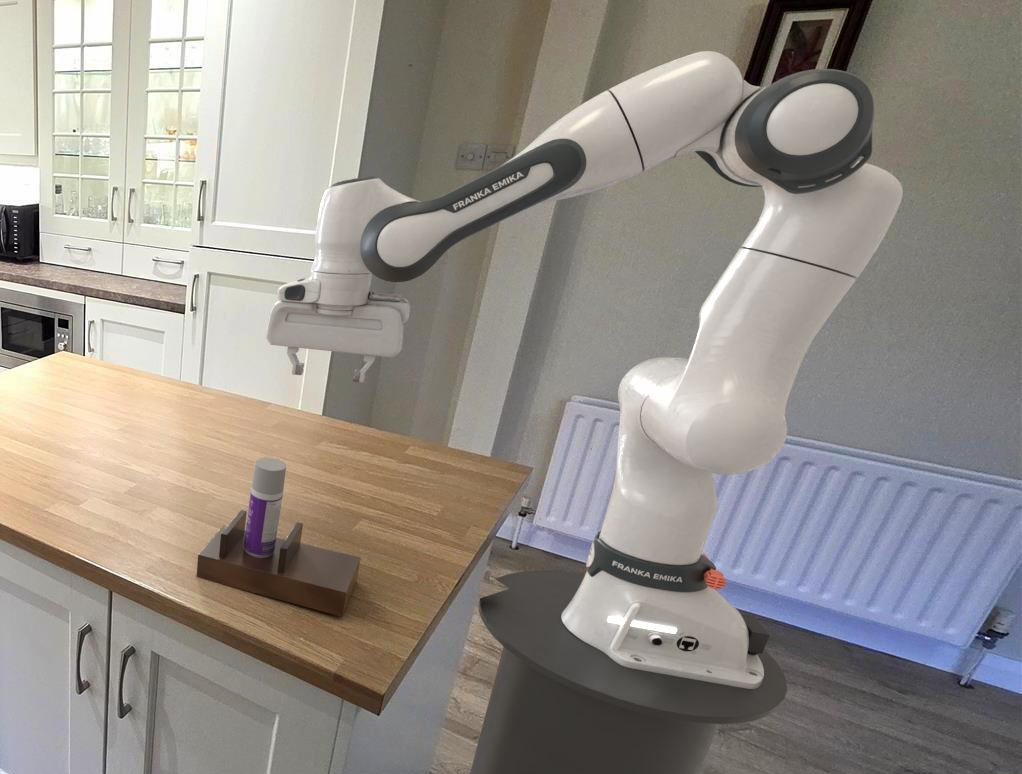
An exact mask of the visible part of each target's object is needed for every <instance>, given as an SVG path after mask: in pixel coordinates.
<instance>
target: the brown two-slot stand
mask: <svg viewBox="0 0 1022 774" xmlns="http://www.w3.org/2000/svg"><path fill="white" fill-rule="evenodd" d="M247 515H248V511H247V510H244V509H240V510H239V512H237V513H236V515H235V516H234V517H233V518H232V520H231V521H230V522H229V523H228V525H224V524H223V525H222V526H221V527H220V528H219V529H218V530H217V532H216V533H215V534H214V535H213V536H212V538H211V539H210V540H209V541H208V542H207V543H206V544H205V546H204V547H203V548H202V550H201V551H200V552H199V553H198V555H197V564H196V565H197V566H196V575H195V577H196V578H199V579H203V580H205V581H209V582H212V583H217V584H221V585H223V586H228V587H232V588H236V589H238V590H241V591H247V592H250V593H253V594H256V595H257V594H258V595H260V596H265V597H268V598H272V599H275V600H280V601H283V602H286V603H291V604H294V605H297V606H302V607H305V608H309V609H313V610H316V611H320V612H323V613H327V614H331V615H334V616H338V617H343V615H344V613H345V611H346V608H347V607H348V603H349V601H350V598H351V596H352V593H353V590H354V588H355V586H356V583H357V581H358V577H359V571H360V566H361V565H360V564H361V559H362V557H361V556H358V555H357V556H356V555H352V554H348V553H345V552H339V551H336V550H331V549H327V548H322V547H320V546H319V547H318V546H314V545H310V544H306V543H302V542H301V541H302V535H303V527H304V523H303V522H299V521H297V522H296V523H295V524H294V526H293V527H292V529H291V530H290V532H289V533H288V535H287V537H286V538H280V537H276V543H275V549H274V554H273V555H272V556H270V557H267V558H258V557H254V556H251V555H249V554H247V553H246V552H245V551H244V540H245V532H246V524H247Z"/></svg>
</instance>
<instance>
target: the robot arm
mask: <svg viewBox="0 0 1022 774" xmlns="http://www.w3.org/2000/svg"><path fill="white" fill-rule="evenodd" d="M872 93H873V92H872V91H871V88H870V87H869V86H868V85H867V84H866V82H865V81H864V80H862V79H861V78H860V77H858V76H856V75H855V74H853V73H851V72H848V71H845V70H841V69H834V68H814V69H807V70H802V71H798V72H795V73H792V74H790V75H786V76H784V77H782V78H780V79H777V80H776V81H774V82H772V83H771V84H768V85H767V86H759V85H758V86H757V85H752V84H750V83H749V82H747V81H746V80H745V79H744V78H743V75H742V73H741V71H740V69H739V67H738V66H737V65H736V64H735V62H734V61H733V60H731V59H730V58H729V57H728V56H726V55H725V54H722V53H720V52H717V51H712V50H702V51H697V52H694V53H691V54H688V55H684V56H681V57H678V58H675V59H673V60H671V61H668V62H666V63H663V64H661V65H658V66H655V67H653V68H651V69H649V70H646V71H644V72H642V73H639V74H637V75H635V76H633V77H630V78H629V79H626V80H624V81H621V82H620V83H618V84H616V85H614V86H613V87H610V88H608V89H607V90H605V91H602V92H601V93H599V94H597V95H595V96H594V97H592V98H590V99H589V100H587V101H585V102H583V103H582V104H580V105H578V106H577V107H575V108H574V109H572V110H571V111H569V112H568V113H567V114H565V115H563V116H562V117H561V118H559V119H558V120H557V121H555V122H554V123H553V124H551V125H550V126H548V127H547V128H546V129H545V130H544V131H543V132H542V133H541V134H539V135H538V136H537V137H536V138H535V139H534V140H533V141H532V142H531V143H529V144H528V146H526V147H525V148H524V149H523V150H521V151H520V152H519V153H517V154H516V155H515V156H513V157H512V158H511V159H509V160H508V161H505V162H504V163H503V164H501V165H499V166H498V167H495V168H494V169H491V170H490V171H488V172H486V173H483V174H482V175H479V176H478V177H476V178H474V179H472V180H470V181H469V182H466V183H464V184H462V185H460V186H459V187H456V188H455V189H452V190H451V191H448V192H446V193H444V194H442V195H440V196H437V197H434V198H432V199H427V200H424V201H421V200H419V199H414V198H412V197H409V196H407V195H405V194H403V193H401V192H399V191H397V190H396V189H394V188H392V187H390V186H389V185H387V184H386V183H385V182H384V181H383V180H382V179H381V178H380V177H377V176H363V177H356V178H351V179H345V180H340V181H337V182H335V183H334V184H331V185H330V186H329V187H328V188H327V189H326V190H325V192H324V194H323V196H322V199H321V202H320V206H319V209H318V215H317V221H316V227H315V233H314V244H315V256H314V260H313V262H312V265H311V268H310V275H309V277H307V278H305V277H304V278H299V279H298V280H294V281H290V282H287V283H284V284H283V285H281V286H280V287H279V288H278V289H277V299H278V301H277V302H276V303H274V305H273V306H272V308H271V310H270V313H269V318H268V322H267V327H266V332H265V333H266V334H265V339H266V341H267V342H268V344H269V345H271V346H278V347H287V350H286V355H287V356H288V358H289V361H290V363H291V365H292V367H291V375H293V376H302V375H303V374H304V368H305V362H300V361H299V358H298V355H297V353H298V352H299V351H300V349H306V350H307V349H308V350H316V351H326V352H334V353H345V354H353V355H354V354H356V355H363V362H364V363H365V365H364V366H363V367H362V368H360V369H359V368H355V370H354V371H353V377H352V383H359V384H363V383H364V382H365V379H366V372H367V371H368V370H369V368H370V367H371V366H372V365H373V364H374V362H375V361H376V357H383V358H395V357H396V356H398V355H399V354H400V353H401V352H402V349H403V343H404V332H405V331H404V329H405V328H404V326H405V324H406V323H407V322H408V320H409V319H410V314H411V303H410V302H409V300H408V299H407V298H405V297H402V295H401V294H397V293H392V294H390V293H389V294H388V293H383V292H374V291H373V292H372V291H371V285H372V281H373V276H375V277H376V278H378V279H379V280H383V281H385V282H390V283H404V282H409V281H412V280H415V279H417V278H418V277H421V276H422V275H424V274H425V273H426V272H428V271H429V270H430V269H431V268H433V266H434V265H435V264H436V263H437V262H438V261H439V260H440V258H441V257H442V256H443V255H444V254H445V253H446V252H447V251H448V250H449V249H451V248H452V247H453V246H456V245H457V244H458V243H460V242H461V241H464V240H466V239H467V238H469V237H471V236H473V235H476V234H477V233H480V232H481V231H483V230H486V229H488V228H490V227H492V226H494V225H496V224H498V223H500V222H502V221H504V220H506V219H508V218H510V217H512V216H515V215H516V214H519V213H521V212H524V211H526V210H528V209H531V208H534V207H537V206H540V205H543V204H546V203H547V204H548V203H550V202H555V201H556V202H557V201H560V200H566V199H570V198H575V197H579V196H583V195H585V194H589V193H594V192H596V191H599V190H602V189H604V188H607V187H610V186H613V185H615V184H619V183H621V182H623V181H626V180H628V179H630V178H633V177H635V176H637V175H639V174H642V173H643V172H646V171H649V170H650V169H652V168H654V167H656V166H658V165H660V164H663V163H665V162H667V161H670V160H672V159H674V158H676V157H680V156H682V155H685V154H688V153H693V152H694V153H696V154H697V155H698V156H699V157H700V158H701V159H702V160H703V161H704V162H706V163H707V164H708V166H710V167H711V169H712V170H713V171H714V172H715V173H717V174H718V175H719V176H720V177H721V178H723V179H725V180H726V181H728V182H730V183H732V184H734V185H738V186H742V187H749V188H760V187H761V188H762V191H763V193H764V204H763V208H762V211H761V213H760V216H759V218H758V219H757V221H758V222H757V223H756V225H755V226H754V228H753V229H752V230H751V231H750V233H749V234H748V235H747V237H746V238H745V239H744V241H743V243H742V244H741V245H740V248H738V250H737V251H736V253H735V254H734V256H733V258H732V260H730V262H729V264H728V266H726V268H725V269H724V272H723V273H722V274H721V276H720V277H719V279H718V281H717V282H716V283H715V285H714V286H713V287H712V290H711V291H710V293H709V294H708V295H707V297H706V299H705V300H704V302H703V303H702V305H701V307H700V309H699V313H698V329H697V334H696V337H695V340H694V343H693V347H692V349H691V352H690V354H689V356H688V358H686V357H675V356H672V357H671V356H663V357H662V356H661V357H655V358H654V357H653V358H649V359H647V360H643V361H642V362H640V363H638V364H636V365H635V366H633V367H632V368H631V369H629V370H628V372H626V374H624V376H623V377H622V379H621V381H620V383H619V386H618V389H617V400H618V404H619V426H618V435H617V447H616V449H617V450H616V464H615V465H616V466H615V475H614V482H613V487H612V491H611V494H610V498H609V501H608V505H607V508H606V512H605V516H604V518H603V522H602V525H601V530H599V531H597V533H596V534H595V536H594V539H593V541H592V542H591V546H590V548H589V552H588V555H587V559H586V564H585V566H586V567H585V568H586V569H585V570H586V572H585V573H584V574H585V576H584V579H583V581H582V583H581V585H580V587H579V589H578V590H577V592H576V594H575V596H574V597H573V599H572V600H571V602H570V603H569V605H568V606H567V607H566V608H565V610H564V611H563V612H562V615H561V618H562V621H563V623H564V625H565V626H566V627H567V629H568V630H569V631H570V632H572V633H573V634H574V635H575V636H577V637H578V638H579V639H581V640H583V641H584V642H586V643H588V644H589V645H591V646H593V647H595V648H597V649H599V650H601V651H602V652H604V653H606V654H607V655H608V656H609V657H610V658H612V659H613V660H614V661H615V662H617V663H618V664H620V665H622V666H624V667H627V668H632V669H638V670H643V671H649V672H655V673H661V674H666V675H672V676H678V677H683V678H689V679H695V680H701V681H706V682H712V683H718V684H723V685H729V686H735V687H741V688H746V689H756V688H758V687H759V686H760V685H761V684H762V681H763V677H764V669H763V665H762V663H761V660H760V659H759V657H758V655H757V654H758V653H761V654H762V653H763V651H764V649H765V648H766V646H767V644H768V641H769V639H770V636H771V635H770V633H769V632H768V631H767V630H766V628H765V627H764V626H763V625H762V624H761V622H760V621H759V620H758V619H757V617H756V616H755V615H754V614H749V613H745V612H740V611H739V610H738V609H737V608H736V607H735V606H734V605H733V604H732V603H731V602H730V601H729V600H728V599H726V598H725V597H724V596H723V595H722V594H721V593H720V592H719V591H717V590H721V589H723V588H725V587H726V586H727V579H726V578H725V576H724V574H723V572H721V571H720V570H717V567H716V565H715V563H714V562H713V561H711V560H710V559H709V557H708V556H707V555H706V554H705V552H703V550H704V547H705V544H706V542H707V539H708V537H709V533H710V531H711V528H712V526H713V522H714V520H715V517H716V515H717V512H718V507H719V506H718V505H719V499H718V495H717V491H716V490H717V489H716V485H715V484H716V483H715V475H716V474H717V475H721V476H722V475H724V476H734V475H741V474H746V473H749V472H753V471H755V470H757V469H759V468H762V467H763V466H765V465H767V464H768V463H770V462H771V461H772V460H773V459H774V458H775V457H776V456H777V455H778V454H779V453H780V451H782V449H783V447H784V445H785V442H786V440H787V436H788V425H787V418H786V408H787V403H788V400H789V397H790V394H791V391H792V388H793V385H794V383H795V380H796V377H797V374H798V373H799V369H800V367H801V364H802V362H803V360H804V358H805V356H806V354H807V351H808V350H809V347H810V346H811V344H812V342H813V340H814V339H815V337H816V336H817V334H818V333H819V331H821V329H822V328H823V326H824V324H825V323H826V322H827V320H829V318H830V316H831V315H832V313H833V312H834V310H836V309H837V307H838V305H839V304H840V302H841V301H842V300H843V298H844V297H845V295H846V294H847V293H848V291H849V290H850V288H851V287H852V286H853V284H854V283H855V282H856V280H857V279H858V278H859V277H860V275H861V274H862V272H863V271H864V269H865V268H866V266H867V265H868V264H869V262H870V261H871V259H872V257H873V256H874V254H875V253H876V251H877V250H878V248H879V247H880V245H881V243H882V241H883V239H884V237H885V236H886V234H887V232H888V231H889V228H890V226H891V224H892V223H893V220H894V219H895V217H896V214H897V212H898V210H899V207H900V205H901V203H902V200H903V196H904V195H903V194H904V191H903V185H902V184H901V182H900V180H898V179H897V177H896V176H895V175H894V174H892V173H891V172H889V171H888V170H886V169H884V168H881V167H880V166H877V165H875V164H870V163H867V162H868V161H870V159H871V157H872V155H873V128H874V127H873V126H874V119H875V102H874V101H875V100H874V96H873V94H872ZM860 158H861V160H860Z"/></svg>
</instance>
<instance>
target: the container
mask: <svg viewBox="0 0 1022 774" xmlns="http://www.w3.org/2000/svg"><path fill="white" fill-rule="evenodd" d="M286 471H287V464H286V462H284V461H283V460H281V459H278V458H274V457H260V458H258V459H256V460H255V464H254V469H253V473H252V476H253V477H252V481H251V488H250V493H249V502H248V509H247V510H248V511H247V516H246V523H245V530H246V532H245V540H244V551H245V552H246V553H247V554H249V555H251V556H254V557H258V558H267V557H270V556H272V555H273V554H274V549H275V543H276V538H277V535H278V528H279V523H280V516H281V509H282V503H283V495H284V487H285V479H286Z"/></svg>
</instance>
